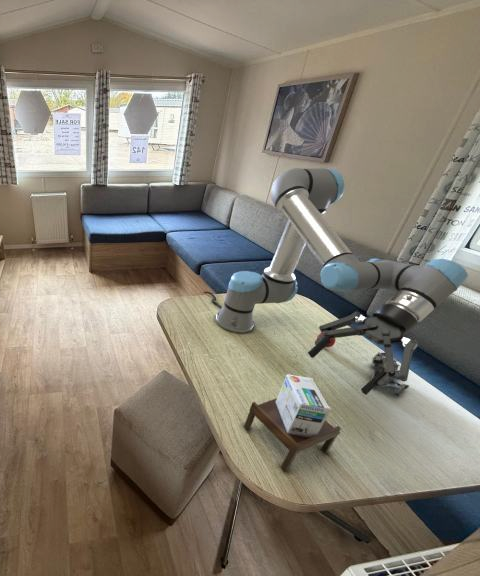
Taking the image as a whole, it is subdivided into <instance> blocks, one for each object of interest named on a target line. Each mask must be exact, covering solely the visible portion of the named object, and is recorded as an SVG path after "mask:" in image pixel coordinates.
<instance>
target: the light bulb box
mask: <svg viewBox="0 0 480 576" xmlns="http://www.w3.org/2000/svg"><path fill="white" fill-rule="evenodd" d="M276 398H277V400H276V405H277V407H278V410H279V412H280V415H281V418H282V420H283V423H284V425H285V428H286V431H287V433H288V434H292V435H298V436H303V437H308V438H311V437H314V436H316V435H318V433H319V431H320V429H321V427H322V425H323V423H324V421H325V420H326V421H327V417H328V416H329V414H330V412H331V411H332V407H330V405H329V403H328V402H327V400H326V399H325V397H324V395H323V393H322V392H321V391H320V388H319V386H318V385H317V382H316V381H315V380H314V378H312V377H306V376H300V375H293V374H286V376H285V379H284V381H283V383H282V386H281V388H280V391H279V392H278V396H277V397H276Z"/></svg>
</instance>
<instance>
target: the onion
mask: <svg viewBox="0 0 480 576" xmlns="http://www.w3.org/2000/svg"><path fill="white" fill-rule="evenodd" d="M321 335H322V332H320V333H319V334H318V335H317V336H316V340H317V339H318V338H319V337H320V336H321ZM330 341H331V342H330V343H329V344H328V345H327V346H326V347H325V348H330V347H331V348H332V347H333V346H334V345H335V344H336V338H331V339H330Z"/></svg>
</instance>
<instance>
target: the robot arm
mask: <svg viewBox="0 0 480 576" xmlns="http://www.w3.org/2000/svg"><path fill="white" fill-rule="evenodd" d="M345 184H346V183H345V179H344V177H343V175H342V174H341V172H339V171H338V170H336V169H332V168H324V167H321V168H320V167H319V168H301V167H300V168H298V167H297V168H291V169H288V170H286V171H284V172H282V173H281V174H279V175H278V176H277V177H276V178H275V180H274V182H273V183H272V186H271V189H270V198H271V201H272V204H273V205H274V207H275V208H276V210H277V211H278V212H279V213H282V214H284V215H285V216H286V218H287V221H286V224H285V226H284V229H283V231H282V234H281V237H280V240H279V242H278V244H277V248H276V250H275V252H274V255H273V257H272V260H271V262H270V266H267V267H264V270H263V271H262V274H260V273H258V272H255V271H249V270H240V271H237V272H234V273H233V274H232V275H231V277H230V280H229V282H228V286H227V290H226V295H225V298H224V302H223V305H221V304H220V303H218V302H217V301H216V300H217V296H215V294H213V293H212V292H210V291H209V290H208V291H203V294H208V295H210V296H211V297H212V298H213V299H211V302H212V303H213V304H214V305H216V306H218V307H219V308H220V309H218V312H217V314H216V316H215V321H216V324H218V326H219V327H220V328H222V329H224V330H226V331H229V332H231V333H236V334H246V333H249V332H251V331H252V330H253V327H254V325H255V324H254V313H253V312H254V308H255V305H259V304H260V305H261V304H282V303H286V302H289V301H291V300H293V298H295V296H296V295H297V293H298V286H297V285H298V281H297V279H296V278H297V277H296V274H295V273H294V272H295V270H296V267H297V265H298V263H299V261H300V258H301V256H302V254H303V251H304V249H305V247H306V246H307V248H308V249H309V250H310V252H311V253H312V255H313V256H314V258H315V259H316V261H317V262H318V263H319V265H320V266H321V267H322V269H321V271H320V274H319V277H320V282H321V285H322V286H323V287H324V288H325V289H327V290H330V291H337V292H349V291H360V290H366V291H367V290H390V291H394V292H395V293H394V294H393V295H392V296H391V297H390V298H389V299H387V300H386V302H385V303H384V304H383V303H382V304H381V306H380V307H379V308H378V309H376V310H375V311H374V312H373V313H372V314H371V315H370V316H368V317H365V316H364V315H363V314H361V312H360V311H358V310H355V311H353V312H352V313H350V315H347V316H344V317H342V318H338V319H336V320H333V321H330V322H327V323H325V324H321V325H319V326H318V329H319V331H320V333H322V335H321V336H320V337H319V338H318V339H317V338H316V340H315V341H314V345H315V346H313V347H312V348H311V349H310V350H309V351H308V352H307V354H308V355H309V357H310V358H312V359H314V358H315V357H316V356H317V355H318V354H319V353H321V351H322V350H324V349H325V348H327V347H326V346H327V345H328V344H329V343H330V342H331V341H330V339H331V338H335V339H338V338H345V337H353V336H358V337H361V336H364V337H365V338H366V339H368V340H370V341H372V342H374V343H375V344H376V345H378V346H379V345H383V348H384V353H385V356H386V363H387V371H388V372H387V373H386V372H385V371H384V370H382V371H381V372H379V373H378V374H377V375H376V376H375V377H374V378H373V379H372V378H371V379H370V380H369V381H368V382H367V383H366V384H365V385H363V386H362V387H361V388H360V391H361V393H362V394H363V395H364V396H367V395H368V394H369V393H370V392H371V391H372V390H374V389H375V388H376V387H379V388H385V387H384V386H385V385H386V384H387V383H388V382H389V381H391V380H392V379H399V380H401V381H400V382H403V383H405V382H407V381H408V377H409V373H410V367H411V362H412V357H413V353H414V351H416V349H417V348H418V346H419V345H418V341H417V339H415V338H411V339H410V338H408V337H405V336H406V335H407V334H408V333H409V332H411V331H412V330H413V329H414V328H415V327H416V326H417V325H418V323H420V322H422V321H423V320H424V319H425V318H426V317H427V316H428V315H429V314H431V313H432V312H433V311H434V310H435V309H436V308H437V306H439V305H440V304H441V303H442V302H444V301H445V300H446V299H447V298H448V297H449V296H451V295H452V294H454V292H457V291H458V289H459V288H460V286H462V285H463V283H465V282H466V281H467V279H468V278H469V274H468V272H467V269H466V268H465V267H463V265H461V264H460V263H457V262H455V261H453V260H450V259H445V258H437V259H435V258H434V259H432V260H430V261H429V262H427V263H425V265H417V264H410V263H405V262H401V261H400V262H399V261H394V260H391V259H386V258H369V260H366V261H359V259H358V258H357V257H356V255H354V254H353V253H352V251H351V250H350V249H349V247H348V246H347V245H346V243H344V241H343V240H342V239H341V238H340V236H339V235H338V233H336V231H335V230H334V228H333V227H332V226H331V225H330V223H329V222H328V221H327V219H326V218H325V217H324V216H323V214H325V213H326V212H327V209H328V207H329V205H333V204H335V203H336V202H338V201H339V200H340V199H341V197H342V196H343V194H344V191H345ZM360 322H362V324H361V325H360V324H359V325H358V324H357V325H354V326H351V327H347V326H350V325H353V324H355V323H360ZM398 343H402V347H403V352H402V358H401V362H400V366H399V370H400V372H396V371H395V367H394V360H393V359H394V354H393V345H392V344H398ZM377 385H378V386H377ZM374 387H375V388H374Z"/></svg>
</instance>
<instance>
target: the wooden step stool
mask: <svg viewBox="0 0 480 576" xmlns="http://www.w3.org/2000/svg"><path fill="white" fill-rule="evenodd" d="M276 400H277V397H276V398H274V399H271V400H268V401H265V402H261V403H260V404H258V403H257V402H256V401H252V403H251V405H250V409H249V412H248V415H247V417H246V419H245V422H244V425H243V428H244V429H245V430H246V431H248V430H251V427H252V425H253V422H254V420H255V417H256V418H257V419H258V421H260V422H261V423H262V424H263V425H264V427H265V428H266V429H267V430H268V431H269V432H270V433H272V435H273V436H275V438H277V440H278V441H279V442H280V443H281V444H282V445H283V446H284V447H285V448H286V449H287V450H288V452H287V454H286V456H285V458H284V460H283V462H282V464H281V465H280V469H281V470H282V471H283V472H284V473H286V472H287V471H289V469H290V467H291V466H292V464H293V462H294V461H295V458H296V456H297V455H298V454H300V453H301V452H304V451H306V450H309V449H310V448H313V447H315V446H317V445H320V444H322V443H323V444H322V445H321V448H320V451H321V452H323V453H324V454H327V453H328V452H329V451H330V449H331V447H332V446H333V444H334V443H335V440H336V439H337V438H338V436H340V434H341V432H340V431H341V430H342V427H341V426H339V425H337V426H333V425H332V424H331V423H329V422H328V420H327V419H326V420H325V421H324V423H323V425H322V427H321V429H320V431H319V433H318V435H316V436H314V437H311V438H308V437H303V436H298V435H292V434H288V433H287V431H286V428H285V425H284V423H283V420H282V418H281V415H280V412H279V410H278V407H277V405H276Z"/></svg>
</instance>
